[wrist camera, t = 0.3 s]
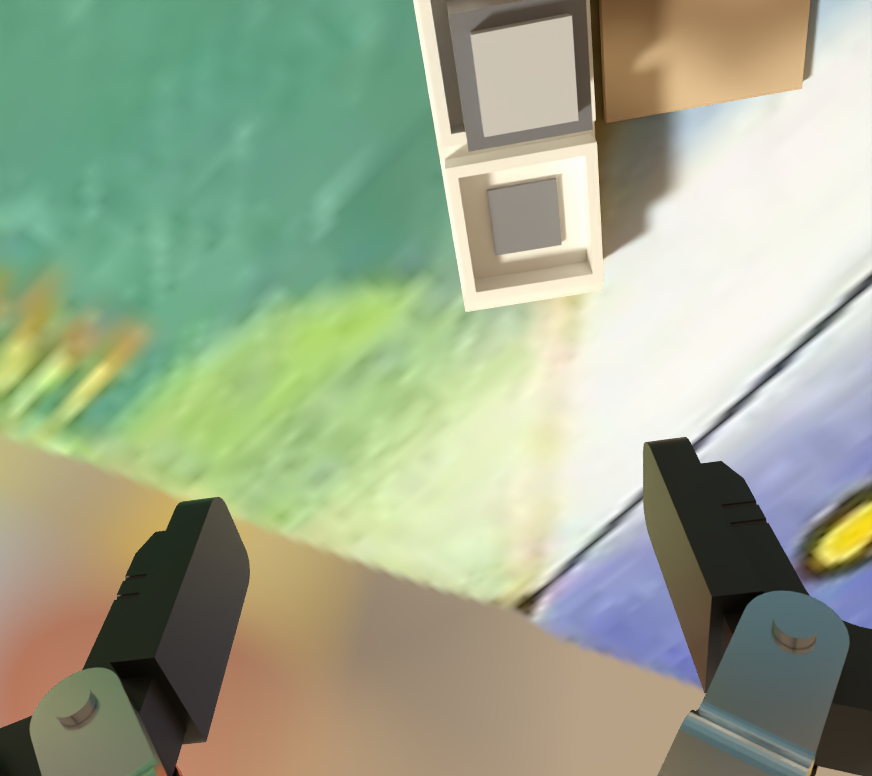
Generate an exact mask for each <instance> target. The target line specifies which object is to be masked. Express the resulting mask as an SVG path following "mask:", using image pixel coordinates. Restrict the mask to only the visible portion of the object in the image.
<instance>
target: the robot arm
mask: <svg viewBox="0 0 872 776" xmlns="http://www.w3.org/2000/svg"><path fill="white" fill-rule="evenodd" d="M643 503H644V514H645V521H646V526H647V530H648V534H649V537H650V540H651V543H652V546H653V549H654V551H655V554H656V557H657V560H658V563H659V566H660V568H661V571H662V574H663V577H664V580H665V583H666V585H667V588H668V591H669V594H670V597H671V600H672V602H673V605H674V608H675V611H676V614H677V617H678V619H679V622H680V625H681V628H682V631H683V634H684V636H685V639H686V642H687V645H688V648H689V651H690V653H691V656H692V659H693V662H694V665H695V668H696V670H697V673H698V676H699V679H700V682H701V685H702V687H703V690H704V693H706V695H705V697H704V699H703V702H702V703H701V705H700V707H699V709H698V710H697V711H694V710H691V711H690V712H689V713H688V715H687V716H686V717H685V719H684V721H683V723H682V725H681V727H680V729H679V731H678V733H677V735H676V737H675V739H674V741H673V744H672V746H671V748H670V750H669V752H668V754H667V757H666V758H665V761H664V763H663V765H662V767H661V769H660V771H659V773H658V776H816V775H817V772H818V768H819V766H821V767H825V768H830V769H835V770H839V771H843V772H848V773H852V774H857V775H862V776H872V629H868V628H863V627H859V626H856V625H853V624H850V623H848V622H845V621H843V620H841V618H840V617H839V616H838V615H837V614H836V613H835V612H834V611H833V610H832V609H831V608H830V607H828V606H827V605H826V604H824V603H823V602H821V601H819V600H817V599H815V598H813V597H811V596H810V595H809V594H808V592H807V591H806V589H805V588H804V586H803V584H802V582H801V581H800V579H799V577H798V575H797V573H796V572H795V570H794V568H793V566H792V564H791V563H790V561H789V559H788V557H787V555H786V554H785V552H784V550H783V548H782V546H781V545H780V543H779V541H778V539H777V537H776V536H775V534H774V532H773V530H772V528H771V527H770V525H769V523H767V522H766V518H765V516H764V514H763V512H762V510H761V509H760V507H759V505H757V504H756V500H755V498H754V496H753V494H752V492H751V491H750V489H749V487H748V485H747V484H746V482H745V480H744V478H742V477H741V476H740V475H739V474H737V473H736V472H735V471H733V470H732V469H731V468H730V467H728V466H727V465H726V464H724V463H723V462H722V461H717V462H709V463H700V461H699V459H698V457H697V455H696V453H695V451H694V449H693V447H692V445H691V443H690V441H689V439H688V438H687V437H681V438H673V439H666V440H658V441H651V442H645V443H644V447H643ZM249 576H250V568H249V559H248V555H247V552H246V549H245V547H244V544H243V542H242V540H241V538H240V535H239V533H238V531H237V529H236V526H235V524H234V522H233V519H232V517H231V515H230V513H229V510H228V508H227V506H226V504H225V502H224V501H223V499H222V498H220V497H214V498H206V499H199V500H191V501H183V502H180V503H179V504H178V505H177V506H176V508H175V510H174V513H173V515H172V517H171V520H170V522H169V524H168V527H167V529H166V531H159V532H155V533H154V534H153V535H152V536H151V537H150V538H149V540H148V541H147V542H146V543H145V544H144V545H143V546H142V547H141V548H140V549H139V551H138V552H137V553H136V554H135V556H134V558H133V561H132V563H131V565H130V567H129V569H128V571H127V574H126V576H125V577H126V580H125V581H123V583H122V585H121V587H120V589H119V591H118V593H117V600H114V602H113V604H112V606H111V609H110V611H109V613H108V615H107V617H106V620H105V622H104V624H103V626H102V629H101V630H100V633H99V635H98V637H97V639H96V642H95V644H94V646H93V648H92V650H91V652H90V655H89V657H88V659H87V661H86V663H85V665H84V668H83V669H82V671H79V672H77V673H74V674H72V675H70V676H68V677H67V678H65V679H64V680H62V681H61V682H59V683H58V684H57V685H55V686H54V687H53V688H52V689H51V690H50V691H49V692H48V693H47V694H46V695H45V696H44V697H43V699H42V700H41V701H40V703H39V704H38V706H37V707H36V709H35V711H34V713H33V715H32V716H30V717H28V718H25V719H23V720H20V721H18V722H15V723H13V724H10V725H8V726H5V727H2V728H0V776H183V774H182V772H181V770H180V769H179V767H178V766H177V764H176V763H177V760H178V756H179V753H180V749H181V746H182V744H191V743H201V742H206V740H207V737H208V733H209V729H210V725H211V722H212V718H213V714H214V711H215V707H216V703H217V700H218V696H219V692H220V688H221V685H222V681H223V677H224V674H225V670H226V666H227V662H228V659H229V655H230V651H231V647H232V644H233V640H234V636H235V633H236V629H237V625H238V621H239V618H240V614H241V610H242V606H243V603H244V599H245V595H246V592H247V588H248V584H249Z"/></svg>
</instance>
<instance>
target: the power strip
mask: <svg viewBox="0 0 872 776" xmlns="http://www.w3.org/2000/svg"><path fill="white" fill-rule="evenodd" d="M413 1H414V7H415V13H416V19H417V25H418V31H419V37H420V43H421V49H422V55H423V61H424V67H425V73H426V79H427V85H428V91H429V97H430V103H431V108H432V114H433V120H434V126H435V132H436V138H437V144H438V150H439V156H440V162H441V168H442V174H443V180H444V186H445V192H446V198H447V204H448V210H449V216H450V222H451V227H452V233H453V239H454V245H455V251H456V257H457V263H458V269H459V275H460V281H461V287H462V293H463V299H464V305H465V311H466V312H468V311H474V310H481V309H487V308H493V307H500V306H506V305H513V304H519V303H525V302H532V301H538V300H544V299H551V298H557V297H563V296H570V295H576V294H582V293H589V292H595V291H602V290H603V282H604V273H603V254H602V234H601V214H600V194H599V174H598V154H597V142H596V140H595V125H594V121H596V114H595V94H594V74H593V54H592V34H591V14H590V0H586V9H587V28H588V47H589V66H590V85H591V104H592V123H593V130H589V131H583V132H578V133H572V134H566V135H561V136H555V137H549V138H544V139H538V140H533V141H527V142H521V143H516V144H510V145H504V146H499V147H493V148H487V149H482V150H476V151H471V152H469V150H468V144H467V138H466V132H465V126H464V120H463V114H462V108H461V101H460V94H459V87H458V80H457V73H456V67H455V60H454V53H453V46H452V39H451V32H450V26H449V19H448V12H447V5H446V0H413Z"/></svg>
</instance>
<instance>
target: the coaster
mask: <svg viewBox="0 0 872 776" xmlns="http://www.w3.org/2000/svg"><path fill="white" fill-rule="evenodd" d="M809 10H810V0H599V15H600V37H601V60H602V83H603V105H604V121H605V122H606V123H611V122H616V121H622V120H628V119H633V118H639V117H645V116H650V115H656V114H661V113H667V112H673V111H678V110H684V109H690V108H695V107H701V106H706V105H712V104H718V103H723V102H729V101H735V100H740V99H746V98H751V97H757V96H763V95H768V94H774V93H780V92H785V91H791V90H796V89H802V82H803V72H804V61H805V51H806V41H807V31H808V20H809Z"/></svg>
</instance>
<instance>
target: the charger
mask: <svg viewBox="0 0 872 776" xmlns="http://www.w3.org/2000/svg"><path fill="white" fill-rule="evenodd" d="M446 5H447V12H448V19H449V26H450V32H451V39H452V46H453V53H454V60H455V67H456V73H457V80H458V87H459V94H460V101H461V108H462V114H463V120H464V126H465V132H466V138H467V144H468V150H469V152H471V151H476V150H482V149H487V148H493V147H499V146H504V145H510V144H516V143H521V142H527V141H533V140H538V139H544V138H549V137H555V136H561V135H566V134H572V133H578V132H583V131H589V130H593V123H592V104H591V85H590V66H589V47H588V28H587V9H586V0H446Z"/></svg>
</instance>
